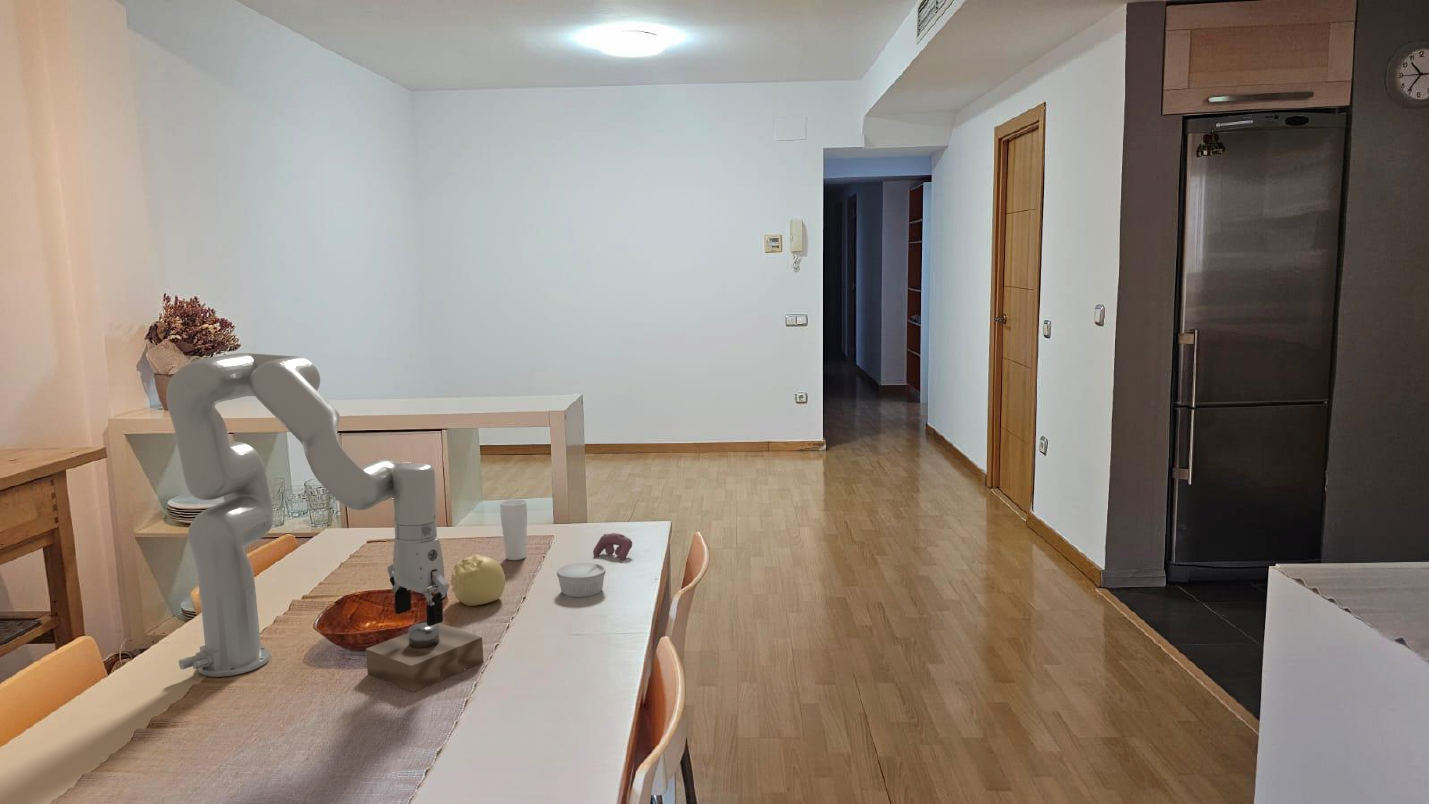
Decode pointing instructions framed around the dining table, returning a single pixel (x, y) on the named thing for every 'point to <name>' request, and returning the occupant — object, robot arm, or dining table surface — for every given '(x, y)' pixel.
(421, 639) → the steel pin
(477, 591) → the sculpture
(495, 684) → the dining table surface
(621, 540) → the dark red animal figurine
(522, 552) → the drinking glass
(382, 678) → the walnut block
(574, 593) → the ramekin
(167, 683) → the dining table surface
